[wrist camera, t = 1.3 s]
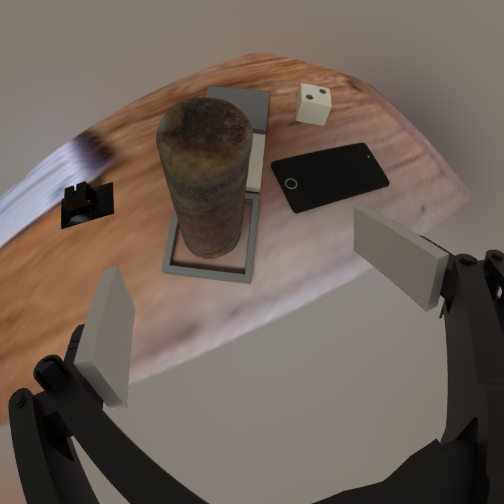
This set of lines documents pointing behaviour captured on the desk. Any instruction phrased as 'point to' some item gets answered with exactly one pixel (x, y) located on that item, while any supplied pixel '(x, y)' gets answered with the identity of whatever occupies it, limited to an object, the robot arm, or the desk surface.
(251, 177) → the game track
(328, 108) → the die
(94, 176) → the desk surface
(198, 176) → the candle
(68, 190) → the black chunky piece
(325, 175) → the cell phone
